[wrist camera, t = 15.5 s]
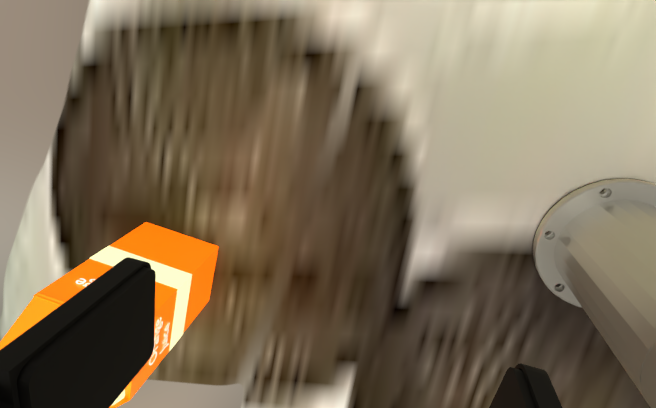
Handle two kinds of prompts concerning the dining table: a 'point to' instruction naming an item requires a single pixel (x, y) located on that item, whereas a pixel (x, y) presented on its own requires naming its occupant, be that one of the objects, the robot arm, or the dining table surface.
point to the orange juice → (170, 288)
